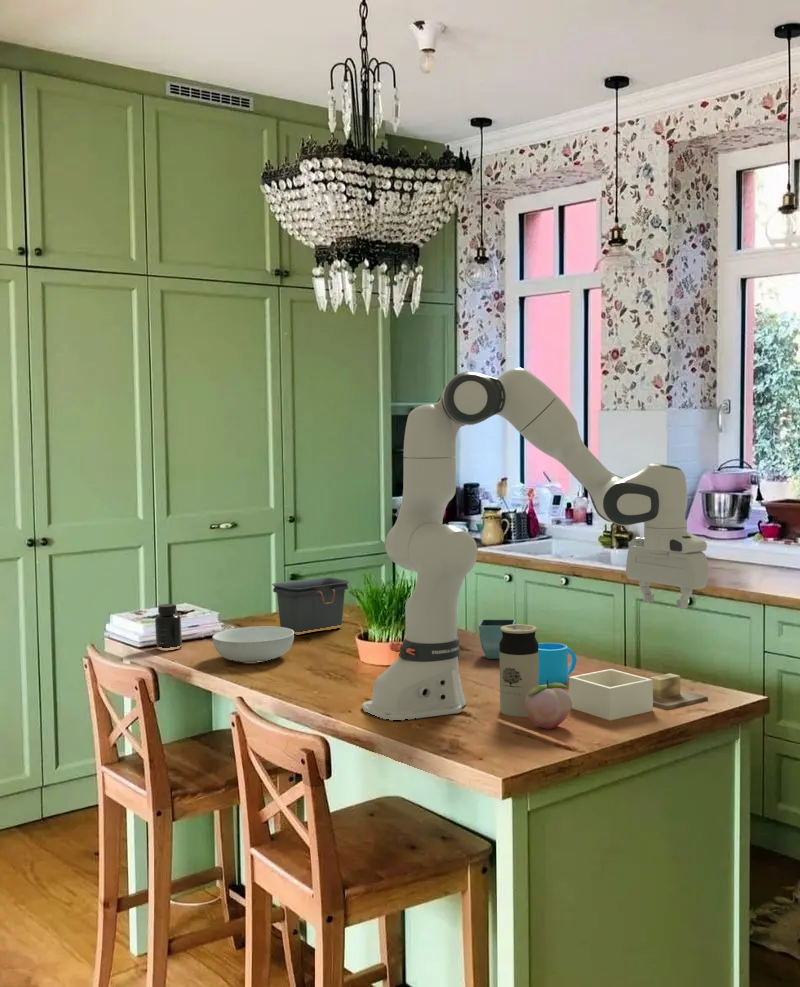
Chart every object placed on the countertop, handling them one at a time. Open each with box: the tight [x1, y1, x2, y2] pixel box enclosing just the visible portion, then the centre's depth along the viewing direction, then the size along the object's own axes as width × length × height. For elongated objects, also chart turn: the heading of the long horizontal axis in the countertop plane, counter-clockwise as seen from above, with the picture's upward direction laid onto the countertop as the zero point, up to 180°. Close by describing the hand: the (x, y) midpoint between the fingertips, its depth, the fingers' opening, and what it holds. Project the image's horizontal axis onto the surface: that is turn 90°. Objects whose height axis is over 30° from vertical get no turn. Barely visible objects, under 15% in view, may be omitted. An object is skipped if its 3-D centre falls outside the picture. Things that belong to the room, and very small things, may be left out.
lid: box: [649, 672, 709, 711], centre depth 229 cm, size 12×12×5 cm
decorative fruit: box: [525, 680, 572, 730], centre depth 210 cm, size 9×8×10 cm
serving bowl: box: [212, 625, 295, 663], centre depth 277 cm, size 21×21×7 cm
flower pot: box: [478, 618, 517, 660], centre depth 274 cm, size 9×9×9 cm
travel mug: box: [499, 623, 539, 718], centre depth 221 cm, size 8×8×18 cm
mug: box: [538, 642, 578, 685], centre depth 249 cm, size 12×8×8 cm
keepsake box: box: [568, 668, 654, 721], centre depth 222 cm, size 12×12×7 cm
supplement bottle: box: [154, 603, 183, 648], centre depth 291 cm, size 7×7×12 cm
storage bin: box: [271, 577, 350, 632], centre depth 312 cm, size 21×16×14 cm
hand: (665, 605), depth 228 cm, fingers open, 8 cm apart
